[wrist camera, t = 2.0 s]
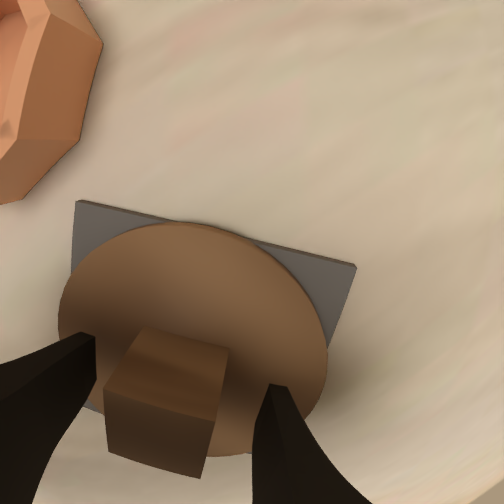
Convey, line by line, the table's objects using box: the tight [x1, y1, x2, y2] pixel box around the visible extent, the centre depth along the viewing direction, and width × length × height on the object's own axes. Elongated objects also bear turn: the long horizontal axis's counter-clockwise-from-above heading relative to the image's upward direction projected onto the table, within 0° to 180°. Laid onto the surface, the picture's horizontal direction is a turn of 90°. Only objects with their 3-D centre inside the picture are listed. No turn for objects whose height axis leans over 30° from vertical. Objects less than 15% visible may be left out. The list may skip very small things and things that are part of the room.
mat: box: [71, 200, 357, 454], centre depth 12 cm, size 10×10×1 cm
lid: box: [58, 222, 328, 479], centre depth 10 cm, size 10×10×4 cm
